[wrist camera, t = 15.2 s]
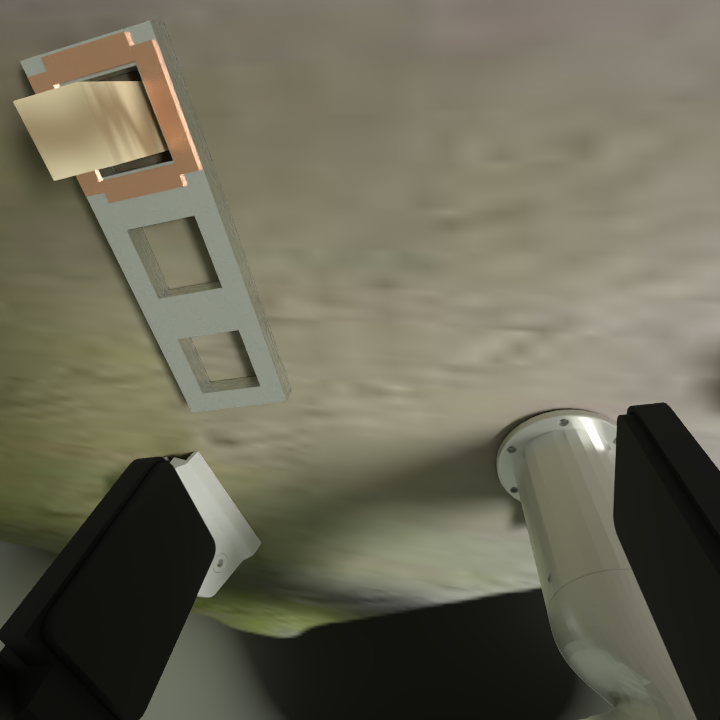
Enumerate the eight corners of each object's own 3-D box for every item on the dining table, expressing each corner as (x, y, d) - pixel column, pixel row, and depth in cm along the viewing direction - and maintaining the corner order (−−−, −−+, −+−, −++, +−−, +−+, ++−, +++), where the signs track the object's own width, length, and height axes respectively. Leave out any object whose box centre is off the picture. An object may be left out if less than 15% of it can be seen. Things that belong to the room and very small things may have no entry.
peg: (173, 148, 35) (115, 165, 28) (122, 161, 36) (53, 180, 29) (147, 81, 33) (77, 81, 26) (94, 96, 34) (12, 101, 27)
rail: (291, 389, 46) (285, 403, 44) (200, 400, 48) (190, 414, 46) (164, 23, 31) (147, 19, 29) (40, 62, 33) (16, 61, 31)
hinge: (263, 545, 59) (212, 621, 52) (237, 539, 61) (185, 611, 54) (196, 448, 51) (126, 522, 44) (169, 446, 54) (99, 516, 47)
